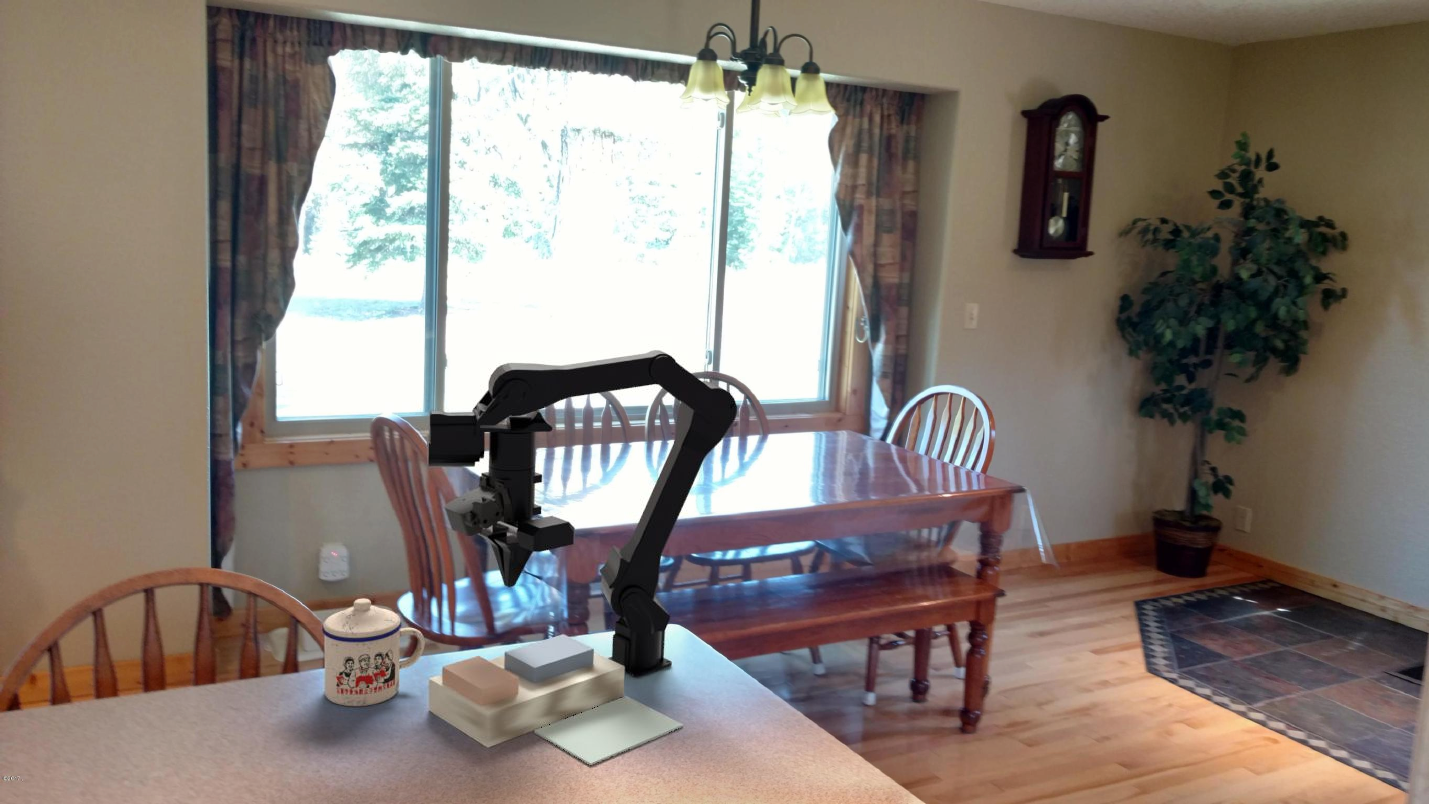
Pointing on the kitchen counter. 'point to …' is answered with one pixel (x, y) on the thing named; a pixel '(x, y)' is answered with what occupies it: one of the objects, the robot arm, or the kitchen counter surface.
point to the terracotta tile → (480, 680)
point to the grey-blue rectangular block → (548, 658)
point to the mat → (608, 730)
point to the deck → (529, 701)
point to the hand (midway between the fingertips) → (509, 586)
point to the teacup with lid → (364, 654)
